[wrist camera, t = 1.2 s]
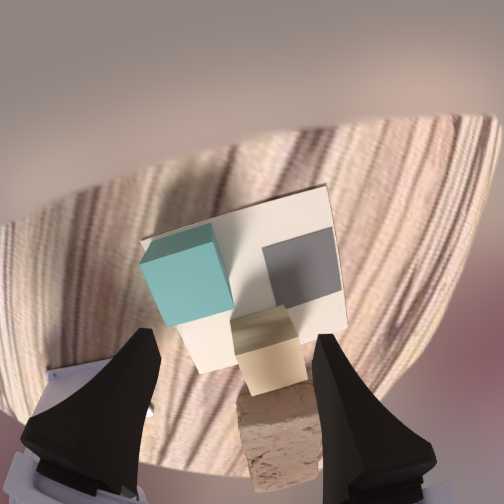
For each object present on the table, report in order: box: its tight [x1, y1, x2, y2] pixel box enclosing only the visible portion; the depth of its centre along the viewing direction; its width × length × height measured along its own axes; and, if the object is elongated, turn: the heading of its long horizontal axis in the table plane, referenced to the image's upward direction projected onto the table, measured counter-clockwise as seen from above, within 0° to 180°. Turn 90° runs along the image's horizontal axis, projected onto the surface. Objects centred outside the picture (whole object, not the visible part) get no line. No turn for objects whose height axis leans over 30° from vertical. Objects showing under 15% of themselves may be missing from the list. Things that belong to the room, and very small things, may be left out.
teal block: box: [139, 223, 235, 328], centre depth 20 cm, size 4×4×4 cm
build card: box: [141, 186, 348, 374], centre depth 23 cm, size 14×13×1 cm
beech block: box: [230, 304, 308, 396], centre depth 23 cm, size 4×4×4 cm
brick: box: [236, 384, 322, 492], centre depth 28 cm, size 16×8×5 cm, turn 6°
